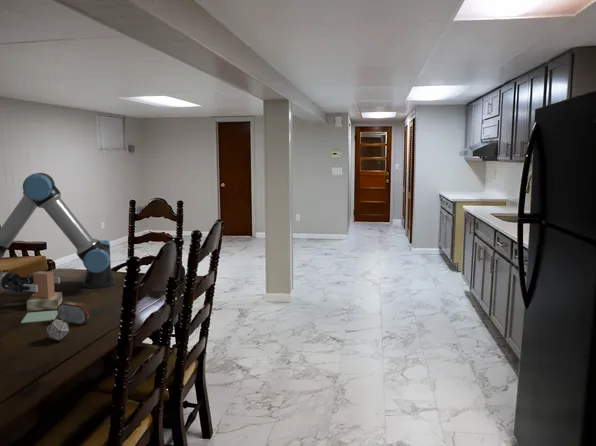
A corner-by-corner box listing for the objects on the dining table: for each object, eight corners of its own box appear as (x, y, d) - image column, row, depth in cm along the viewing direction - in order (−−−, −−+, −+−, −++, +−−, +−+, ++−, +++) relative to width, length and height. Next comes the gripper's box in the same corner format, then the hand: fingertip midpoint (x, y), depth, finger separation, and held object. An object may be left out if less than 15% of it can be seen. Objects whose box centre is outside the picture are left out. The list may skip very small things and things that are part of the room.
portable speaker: (92, 323, 190) (91, 303, 188) (86, 326, 187) (85, 305, 185) (62, 319, 194) (61, 299, 193) (56, 321, 192) (55, 301, 190)
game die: (65, 348, 174) (81, 327, 174) (45, 348, 167) (61, 326, 166) (54, 332, 178) (69, 311, 178) (34, 331, 171) (50, 310, 170)
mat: (59, 311, 204) (59, 310, 204) (54, 320, 193) (54, 319, 193) (27, 313, 200) (27, 312, 200) (20, 323, 189) (20, 322, 189)
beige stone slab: (62, 300, 219) (61, 291, 218) (58, 308, 208) (57, 299, 207) (33, 302, 215) (32, 294, 215) (27, 310, 204) (26, 301, 203)
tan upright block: (34, 297, 210) (32, 273, 208) (41, 294, 213) (39, 271, 212) (48, 298, 208) (46, 274, 206) (54, 296, 212) (53, 272, 210)
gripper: (29, 282, 226) (68, 285, 222) (-16, 297, 202) (27, 300, 198) (28, 266, 225) (67, 269, 221) (-17, 280, 201) (26, 283, 197)
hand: (48, 284), depth 209 cm, fingers open, 13 cm apart
